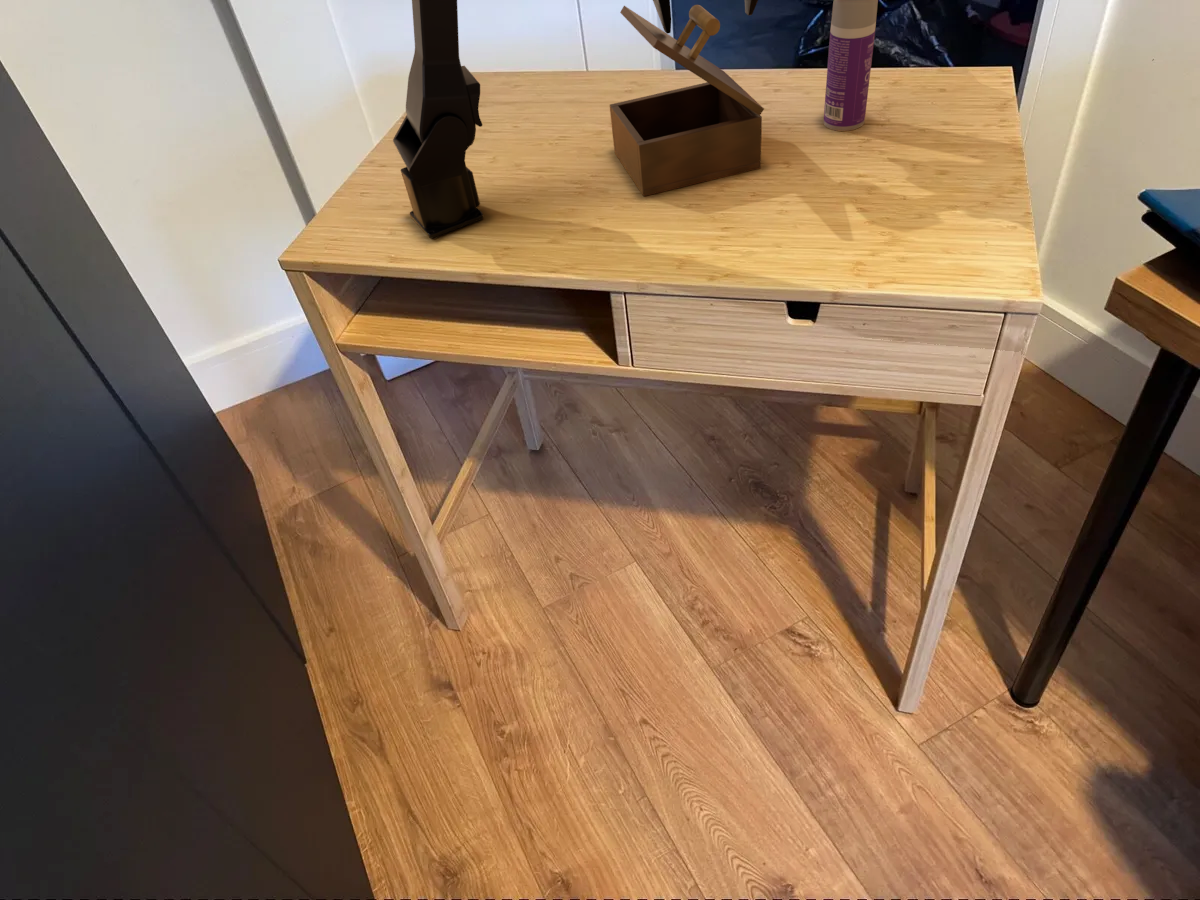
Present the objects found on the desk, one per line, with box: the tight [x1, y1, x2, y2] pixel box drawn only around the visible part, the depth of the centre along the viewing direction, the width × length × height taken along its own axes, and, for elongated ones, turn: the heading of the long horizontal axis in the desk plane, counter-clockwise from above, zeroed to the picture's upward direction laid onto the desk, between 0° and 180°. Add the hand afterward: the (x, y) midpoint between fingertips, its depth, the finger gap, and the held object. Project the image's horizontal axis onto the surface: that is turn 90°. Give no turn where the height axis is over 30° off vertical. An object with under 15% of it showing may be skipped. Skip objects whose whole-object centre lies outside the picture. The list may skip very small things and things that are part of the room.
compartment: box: [609, 81, 763, 197], centre depth 92 cm, size 14×12×6 cm
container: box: [822, 0, 879, 132], centre depth 91 cm, size 5×5×15 cm
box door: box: [620, 4, 765, 115], centre depth 85 cm, size 14×12×5 cm
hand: (708, 23), depth 88 cm, fingers open, 9 cm apart
